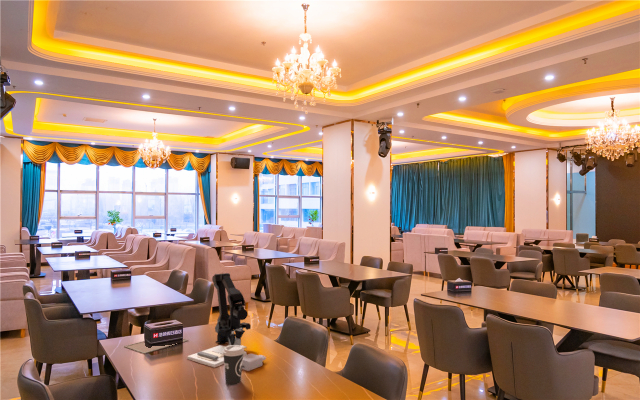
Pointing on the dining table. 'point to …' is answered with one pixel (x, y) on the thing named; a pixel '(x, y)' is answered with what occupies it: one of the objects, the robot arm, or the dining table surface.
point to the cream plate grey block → (236, 343)
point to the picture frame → (143, 349)
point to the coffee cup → (233, 363)
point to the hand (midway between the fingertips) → (234, 345)
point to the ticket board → (210, 363)
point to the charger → (252, 361)
